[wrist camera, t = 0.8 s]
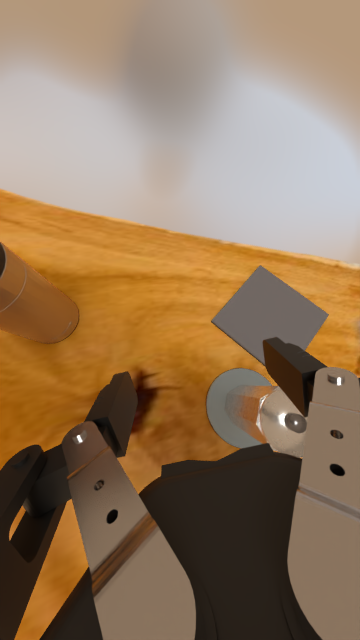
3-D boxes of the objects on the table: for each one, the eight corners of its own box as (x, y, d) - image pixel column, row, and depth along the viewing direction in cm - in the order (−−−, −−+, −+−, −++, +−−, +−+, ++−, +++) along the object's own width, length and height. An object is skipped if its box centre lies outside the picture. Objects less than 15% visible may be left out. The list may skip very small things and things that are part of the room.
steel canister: (221, 420, 32) (260, 449, 18) (229, 382, 34) (270, 381, 20) (258, 431, 32) (329, 471, 17) (264, 392, 34) (332, 399, 19)
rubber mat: (211, 321, 38) (211, 320, 37) (258, 266, 42) (260, 265, 41) (282, 380, 35) (284, 380, 35) (326, 315, 39) (329, 314, 39)
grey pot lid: (191, 409, 33) (193, 411, 31) (234, 354, 36) (239, 352, 33) (250, 464, 31) (258, 473, 28) (291, 401, 34) (301, 403, 31)
